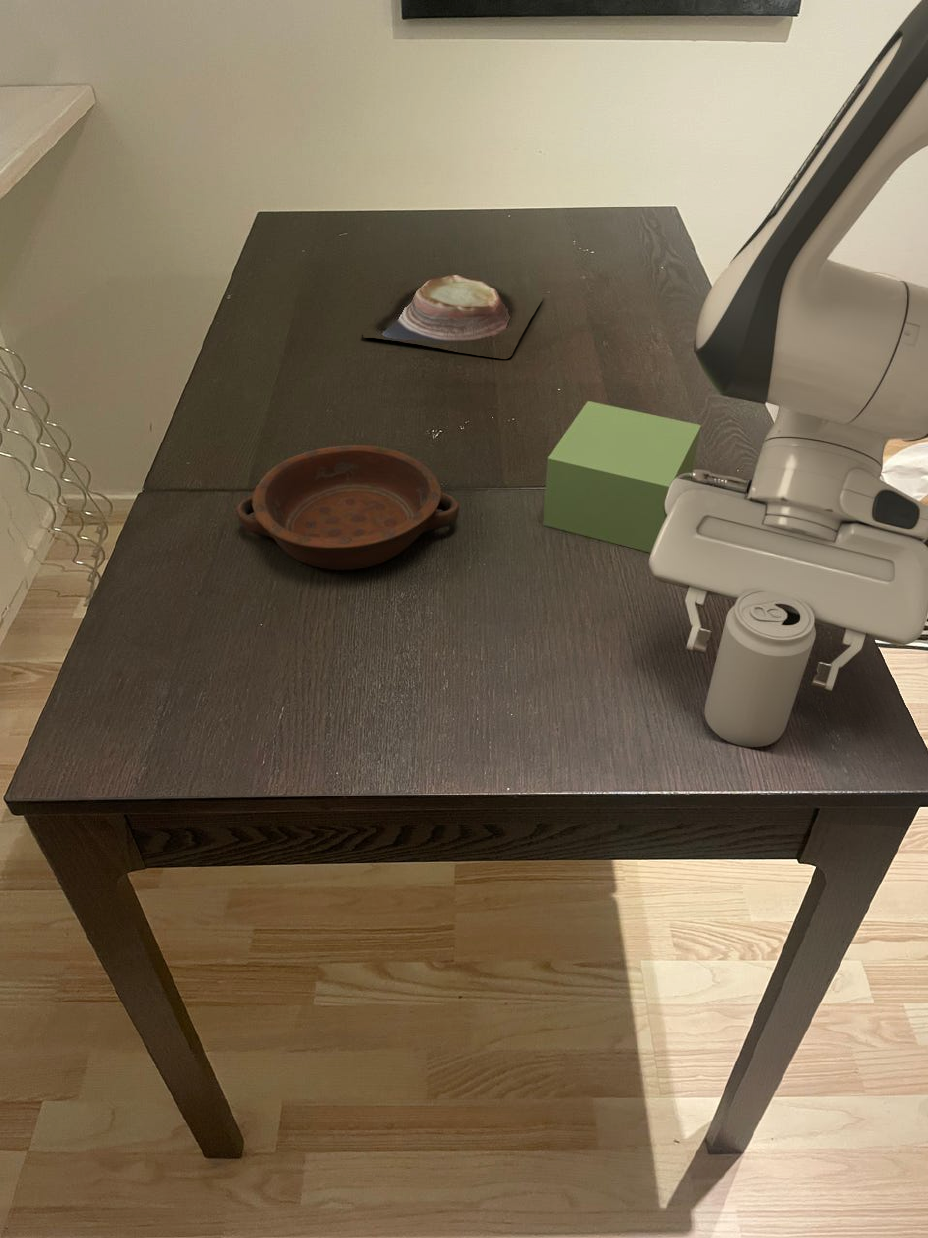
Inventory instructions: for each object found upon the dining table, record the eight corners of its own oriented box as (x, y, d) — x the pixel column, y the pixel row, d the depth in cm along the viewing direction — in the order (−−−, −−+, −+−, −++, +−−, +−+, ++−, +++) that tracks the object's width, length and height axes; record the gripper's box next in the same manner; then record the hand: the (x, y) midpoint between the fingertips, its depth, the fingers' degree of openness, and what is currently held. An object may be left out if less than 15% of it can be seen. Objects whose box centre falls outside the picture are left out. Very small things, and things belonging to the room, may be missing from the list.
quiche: (358, 340, 127) (356, 311, 125) (408, 281, 142) (407, 254, 139) (510, 361, 123) (511, 332, 120) (545, 298, 137) (546, 271, 135)
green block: (688, 491, 101) (701, 424, 96) (658, 555, 93) (670, 486, 88) (581, 465, 105) (587, 400, 99) (543, 525, 97) (547, 457, 91)
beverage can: (791, 754, 74) (831, 642, 66) (709, 752, 75) (738, 641, 66) (773, 694, 79) (808, 584, 71) (696, 693, 79) (722, 582, 71)
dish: (463, 583, 90) (463, 541, 86) (227, 591, 89) (218, 549, 86) (455, 479, 103) (455, 439, 99) (249, 485, 102) (242, 445, 99)
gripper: (672, 453, 72) (619, 627, 72) (960, 518, 66) (903, 709, 66) (678, 473, 78) (630, 634, 78) (943, 535, 72) (890, 709, 72)
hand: (757, 669), depth 72 cm, fingers open, 8 cm apart
